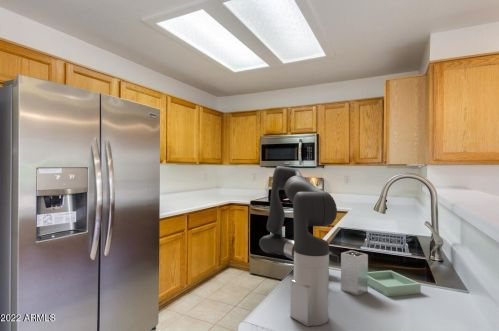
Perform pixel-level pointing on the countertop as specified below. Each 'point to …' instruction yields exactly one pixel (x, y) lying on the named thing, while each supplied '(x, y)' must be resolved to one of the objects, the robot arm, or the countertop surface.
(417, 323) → the countertop surface
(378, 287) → the bin
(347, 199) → the countertop surface
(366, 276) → the canister
